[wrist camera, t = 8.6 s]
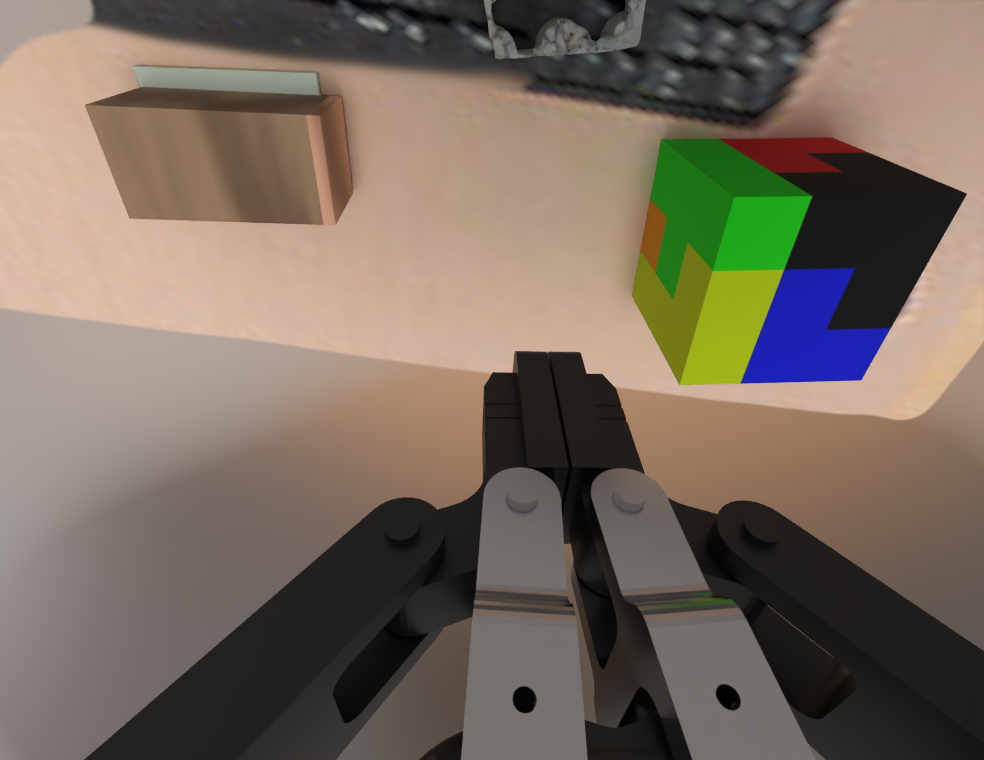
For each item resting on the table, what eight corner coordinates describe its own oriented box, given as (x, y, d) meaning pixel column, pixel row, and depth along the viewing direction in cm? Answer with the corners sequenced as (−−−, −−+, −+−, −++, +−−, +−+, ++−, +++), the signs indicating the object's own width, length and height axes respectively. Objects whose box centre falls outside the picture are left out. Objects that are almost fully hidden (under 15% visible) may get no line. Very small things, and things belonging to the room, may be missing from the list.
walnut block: (319, 115, 23) (84, 105, 22) (335, 225, 26) (129, 218, 25) (341, 96, 27) (142, 86, 26) (352, 193, 30) (175, 186, 29)
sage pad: (317, 72, 26) (316, 73, 26) (337, 207, 30) (336, 209, 30) (136, 65, 26) (133, 66, 25) (183, 204, 30) (180, 206, 30)
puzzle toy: (773, 292, 35) (861, 380, 28) (631, 295, 35) (679, 385, 27) (832, 137, 29) (966, 193, 21) (661, 139, 29) (734, 197, 21)
